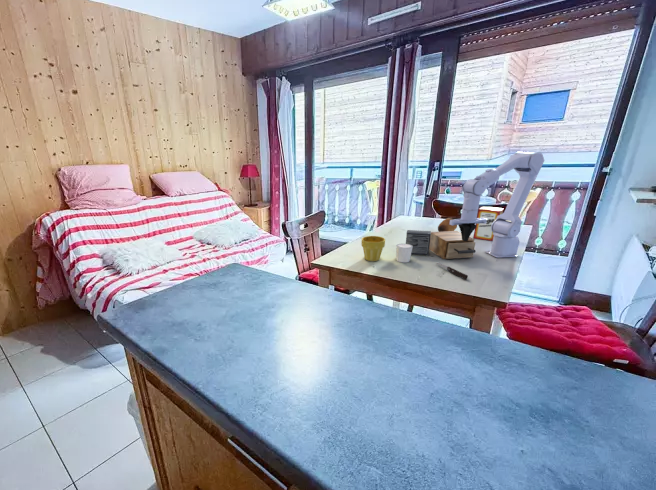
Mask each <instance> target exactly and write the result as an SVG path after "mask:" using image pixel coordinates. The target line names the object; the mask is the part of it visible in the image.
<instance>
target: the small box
mask: <svg viewBox="0 0 656 490" xmlns="http://www.w3.org/2000/svg"><path fill="white" fill-rule="evenodd" d="M431 232H432V231H431V230H419V229H418V230H415V229H407V230H406V237H405V244H410V245H412V246H413V247H412V252H411V255H417V256H429V252H430V250H429V246H430V237H431Z"/></svg>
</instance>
